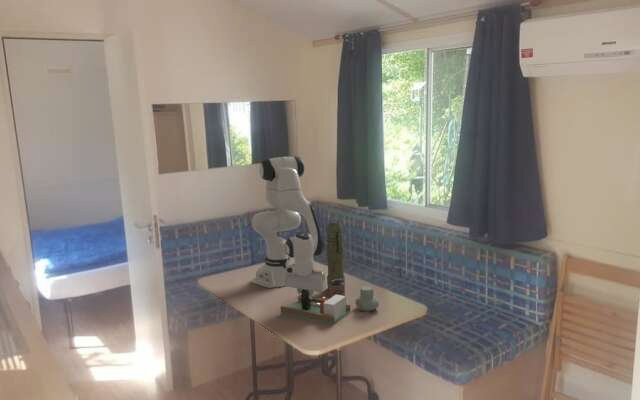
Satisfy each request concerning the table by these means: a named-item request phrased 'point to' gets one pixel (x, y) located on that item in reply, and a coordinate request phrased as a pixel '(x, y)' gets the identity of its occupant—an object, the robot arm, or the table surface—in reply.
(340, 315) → the pitch
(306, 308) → the rod
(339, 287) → the lighter
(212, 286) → the table surface
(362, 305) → the air freshener
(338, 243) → the thermos
